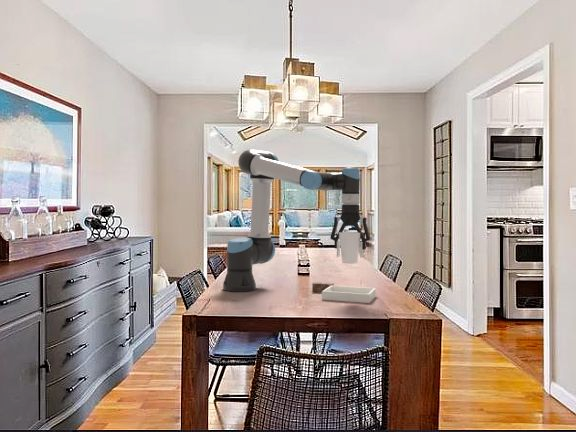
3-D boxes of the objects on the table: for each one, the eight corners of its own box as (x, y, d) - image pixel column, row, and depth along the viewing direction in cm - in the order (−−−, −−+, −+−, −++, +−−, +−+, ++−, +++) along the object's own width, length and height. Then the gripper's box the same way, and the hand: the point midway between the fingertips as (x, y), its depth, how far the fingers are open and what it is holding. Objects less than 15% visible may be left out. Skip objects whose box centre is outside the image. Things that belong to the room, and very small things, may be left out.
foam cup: (359, 264, 215) (360, 233, 214) (337, 263, 217) (338, 232, 216) (361, 261, 224) (361, 231, 224) (340, 261, 226) (340, 231, 226)
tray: (322, 299, 217) (322, 291, 216) (331, 293, 232) (331, 285, 232) (369, 303, 210) (369, 294, 210) (375, 296, 225) (375, 288, 225)
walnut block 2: (321, 292, 234) (321, 283, 234) (326, 291, 237) (326, 282, 237) (329, 293, 231) (329, 284, 231) (333, 292, 235) (333, 283, 235)
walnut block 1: (312, 292, 234) (312, 283, 234) (313, 290, 238) (313, 282, 238) (321, 292, 234) (321, 283, 233) (321, 291, 238) (321, 282, 237)
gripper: (323, 203, 220) (322, 256, 220) (375, 204, 213) (374, 258, 213) (327, 203, 227) (326, 254, 227) (378, 204, 220) (377, 257, 220)
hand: (349, 256), depth 220 cm, fingers closed on foam cup, 9 cm apart
